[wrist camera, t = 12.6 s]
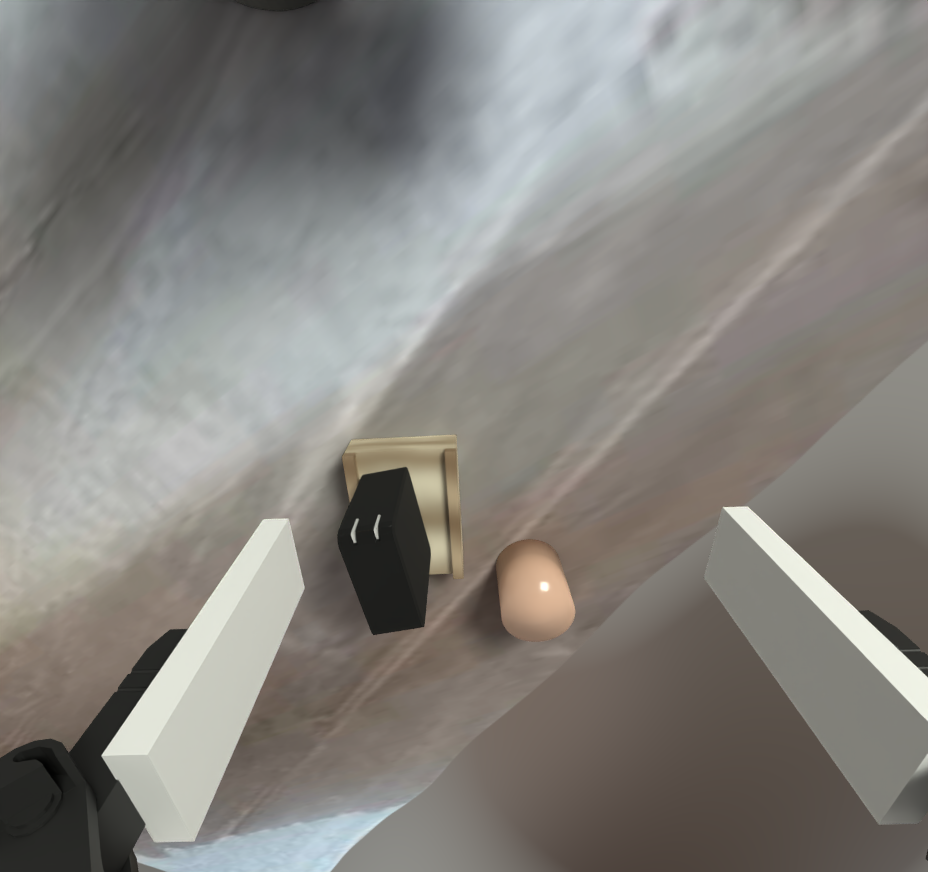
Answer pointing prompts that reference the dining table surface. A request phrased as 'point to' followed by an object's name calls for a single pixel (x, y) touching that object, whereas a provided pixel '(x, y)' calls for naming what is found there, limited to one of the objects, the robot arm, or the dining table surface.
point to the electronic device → (387, 551)
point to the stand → (419, 487)
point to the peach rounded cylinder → (533, 591)
